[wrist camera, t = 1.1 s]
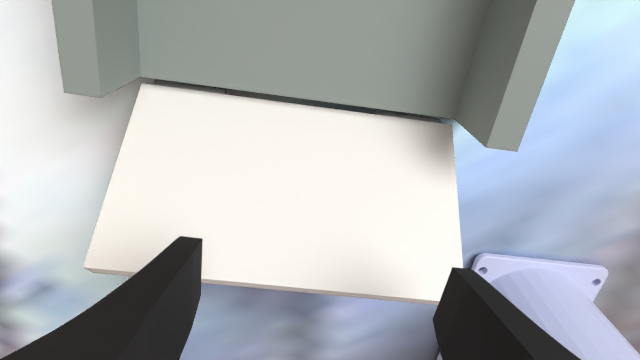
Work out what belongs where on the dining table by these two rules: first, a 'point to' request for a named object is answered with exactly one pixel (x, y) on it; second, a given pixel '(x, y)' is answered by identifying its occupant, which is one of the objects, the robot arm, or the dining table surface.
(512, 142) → the cart bed
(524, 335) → the robot arm
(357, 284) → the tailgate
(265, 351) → the dining table surface
